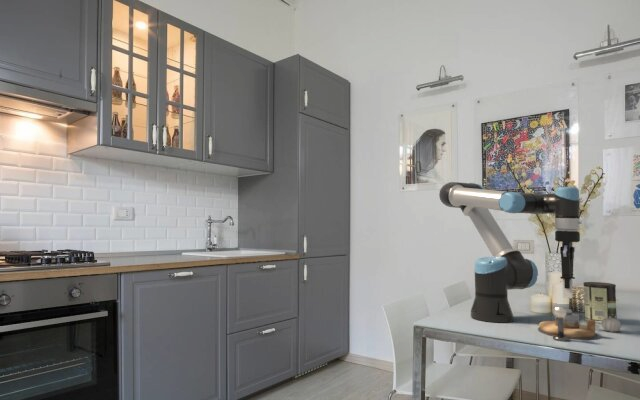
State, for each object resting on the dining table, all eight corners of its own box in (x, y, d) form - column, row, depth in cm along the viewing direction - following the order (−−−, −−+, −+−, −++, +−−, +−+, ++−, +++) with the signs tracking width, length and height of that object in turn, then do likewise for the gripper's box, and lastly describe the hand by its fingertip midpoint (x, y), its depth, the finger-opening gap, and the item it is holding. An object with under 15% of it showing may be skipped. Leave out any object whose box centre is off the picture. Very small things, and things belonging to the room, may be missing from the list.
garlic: (612, 333, 137) (611, 318, 138) (597, 330, 142) (596, 314, 143) (625, 332, 139) (625, 317, 139) (610, 329, 144) (610, 313, 144)
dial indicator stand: (551, 339, 129) (550, 306, 130) (555, 335, 135) (555, 303, 135) (567, 342, 126) (567, 308, 127) (571, 337, 132) (570, 305, 132)
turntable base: (532, 333, 137) (532, 332, 137) (543, 324, 150) (543, 323, 150) (594, 342, 126) (594, 341, 126) (599, 332, 139) (599, 331, 139)
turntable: (534, 332, 137) (534, 317, 137) (544, 323, 149) (544, 310, 149) (592, 340, 127) (591, 325, 127) (597, 331, 139) (597, 316, 139)
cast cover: (553, 326, 138) (553, 309, 138) (557, 322, 143) (556, 306, 144) (577, 329, 133) (577, 312, 134) (580, 326, 139) (580, 309, 139)
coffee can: (609, 318, 161) (607, 282, 162) (622, 324, 151) (621, 285, 152) (579, 317, 163) (578, 281, 164) (591, 323, 153) (590, 284, 154)
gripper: (577, 231, 138) (577, 301, 137) (582, 230, 149) (582, 296, 148) (551, 230, 143) (552, 298, 142) (558, 230, 153) (558, 293, 152)
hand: (567, 297), depth 145 cm, fingers closed
